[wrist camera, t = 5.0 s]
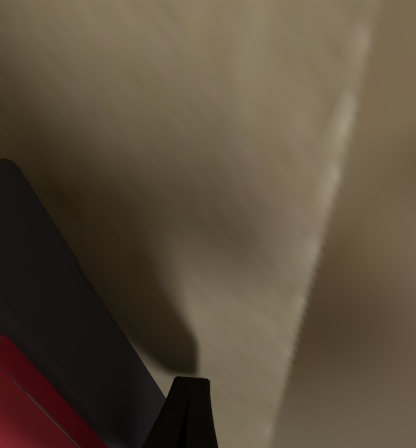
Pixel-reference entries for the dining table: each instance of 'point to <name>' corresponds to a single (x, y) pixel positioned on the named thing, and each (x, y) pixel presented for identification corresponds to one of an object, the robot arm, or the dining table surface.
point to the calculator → (60, 342)
